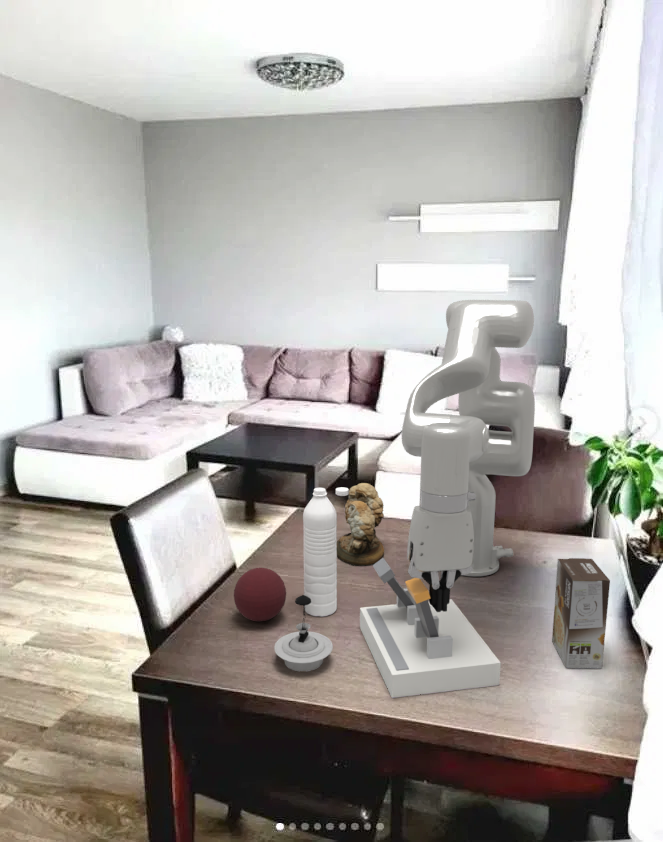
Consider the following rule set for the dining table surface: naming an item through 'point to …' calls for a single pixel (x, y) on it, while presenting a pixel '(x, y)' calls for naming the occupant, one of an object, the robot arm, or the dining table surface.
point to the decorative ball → (259, 594)
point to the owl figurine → (362, 527)
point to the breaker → (392, 581)
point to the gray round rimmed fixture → (303, 645)
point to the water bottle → (320, 553)
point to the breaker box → (427, 650)
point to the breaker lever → (422, 606)
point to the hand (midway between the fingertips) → (438, 607)
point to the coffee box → (580, 612)
